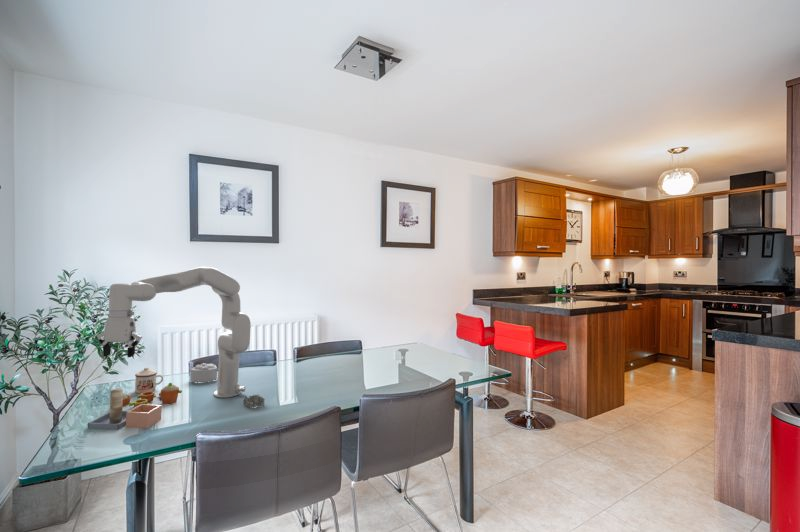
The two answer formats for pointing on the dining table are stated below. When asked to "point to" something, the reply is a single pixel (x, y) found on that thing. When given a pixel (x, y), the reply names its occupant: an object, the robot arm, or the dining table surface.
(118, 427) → the tray
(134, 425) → the salmon pink open bin
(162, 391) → the toy tea set
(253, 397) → the dark mottled rough lump
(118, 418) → the dowel
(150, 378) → the teacup with lid
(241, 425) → the dining table surface
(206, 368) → the lumpy-topped squat cylinder
